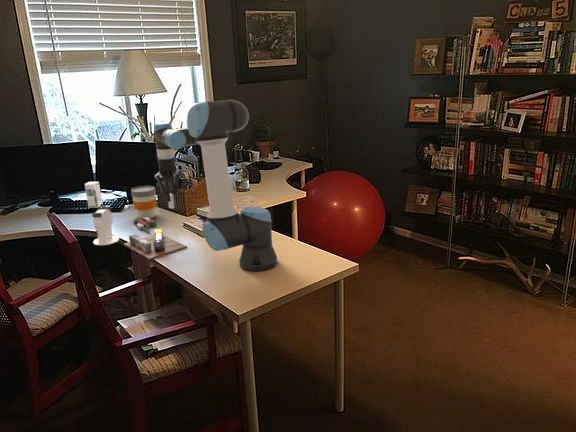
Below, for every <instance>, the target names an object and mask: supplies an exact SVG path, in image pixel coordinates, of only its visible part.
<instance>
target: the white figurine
mask: <svg viewBox="0 0 576 432" xmlns="http://www.w3.org/2000/svg"><path fill="white" fill-rule="evenodd" d="M91 215H92V218H93V226H94V229H95V235H97V238H95V239H94V240H93V242H92V243H93V245H95V246H108V245H112V244H115V243H118V241H120V237H119V236H117V235H113V229H112V225H113V219H114V218H113V215H112V207H111V206H101V209H97V211H95V212H92V214H91Z"/></svg>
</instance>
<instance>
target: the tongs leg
mask: <svg viewBox="0 0 576 432" xmlns="http://www.w3.org/2000/svg"><path fill="white" fill-rule="evenodd" d="M154 235H155V238H156V240H154V241H153V244H154V251H156V252H160V251H164V250H165V246H164V240H163V235H164V233H163V228H156V229H154Z"/></svg>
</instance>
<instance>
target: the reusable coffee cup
mask: <svg viewBox="0 0 576 432" xmlns="http://www.w3.org/2000/svg"><path fill="white" fill-rule="evenodd" d="M130 190H131V191H130V192H131V193H130V194H131V197H132V204H133V206H134V210H135V211H136V215H137V218H140V217H148V218H150V219H153V218H154V217H156V207H157V197H156V194H157V191H156V187H155V186H151V185H143V186H142V185H141V186H136V187H133V188H131V189H130Z"/></svg>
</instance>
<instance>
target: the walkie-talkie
mask: <svg viewBox="0 0 576 432" xmlns="http://www.w3.org/2000/svg"><path fill="white" fill-rule="evenodd" d="M133 223H134V224H135V225H136V229H138V230H139V231H145V232H147V233H151V231H150V230H149V229H151V228H155V227H157V222H156V220H154V219H153V218H148V217H140V218H138V217H137V218H135V220H133Z"/></svg>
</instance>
